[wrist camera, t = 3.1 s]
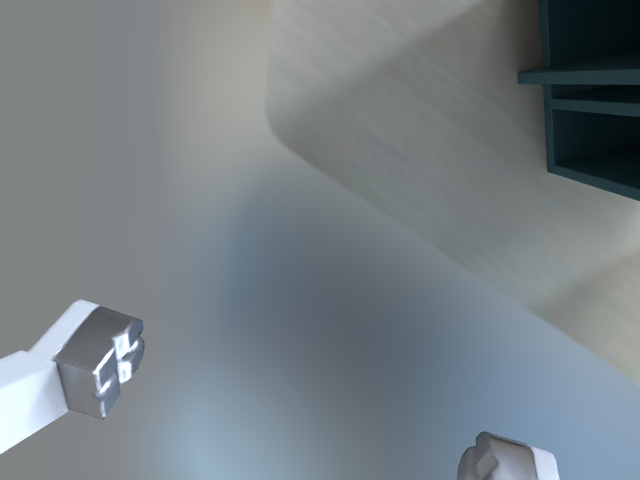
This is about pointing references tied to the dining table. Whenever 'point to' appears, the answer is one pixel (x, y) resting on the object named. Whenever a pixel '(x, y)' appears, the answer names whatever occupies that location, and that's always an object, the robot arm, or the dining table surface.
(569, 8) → the plate rack
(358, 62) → the dining table surface
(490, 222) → the dining table surface
